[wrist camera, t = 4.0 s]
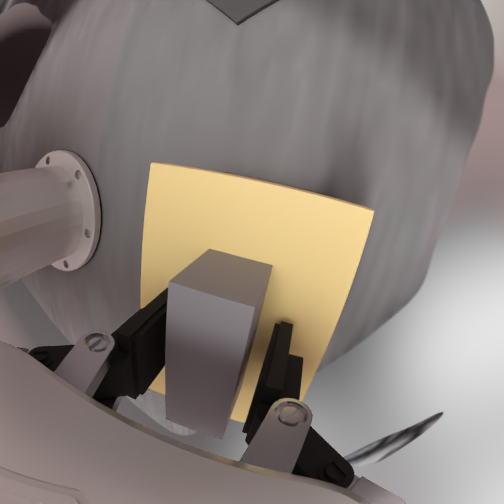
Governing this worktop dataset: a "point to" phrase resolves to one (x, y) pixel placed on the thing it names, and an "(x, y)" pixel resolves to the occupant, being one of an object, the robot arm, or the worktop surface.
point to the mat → (240, 8)
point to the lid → (241, 282)
